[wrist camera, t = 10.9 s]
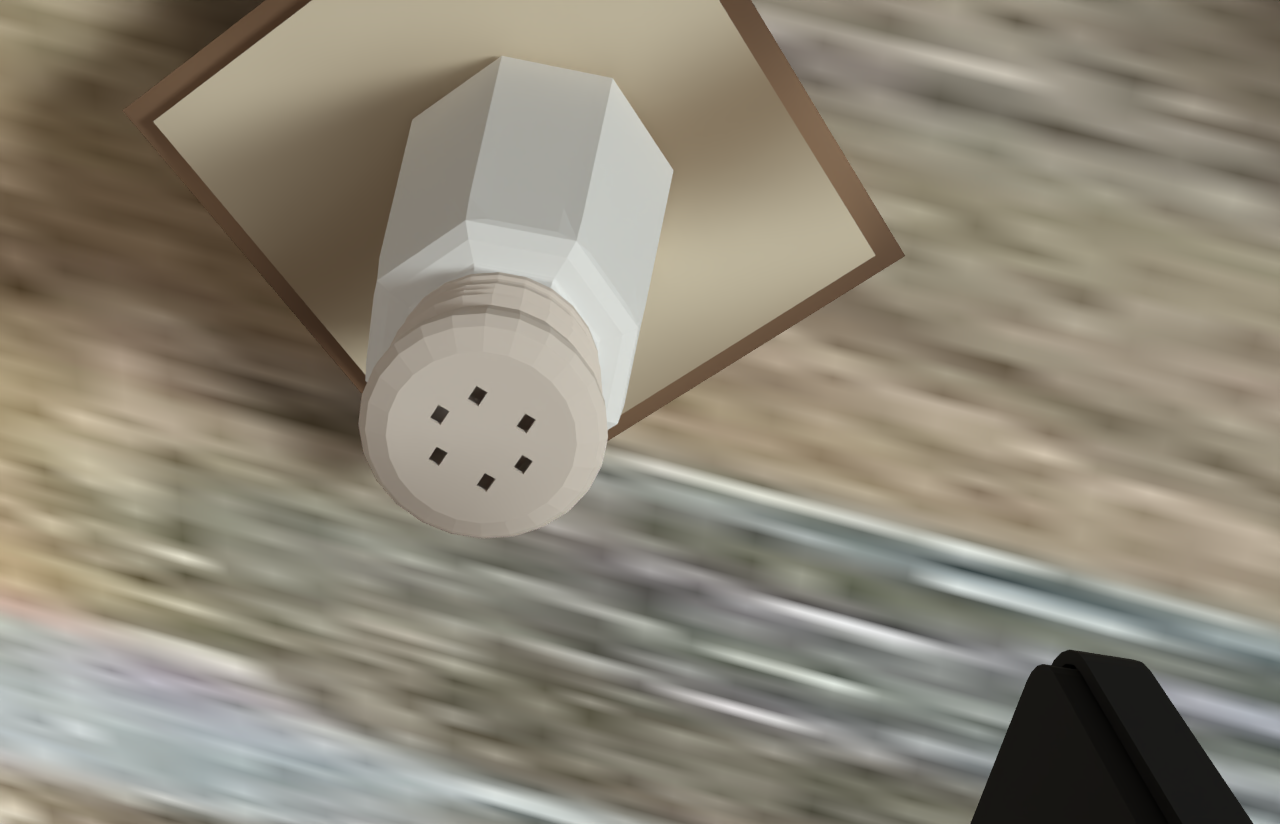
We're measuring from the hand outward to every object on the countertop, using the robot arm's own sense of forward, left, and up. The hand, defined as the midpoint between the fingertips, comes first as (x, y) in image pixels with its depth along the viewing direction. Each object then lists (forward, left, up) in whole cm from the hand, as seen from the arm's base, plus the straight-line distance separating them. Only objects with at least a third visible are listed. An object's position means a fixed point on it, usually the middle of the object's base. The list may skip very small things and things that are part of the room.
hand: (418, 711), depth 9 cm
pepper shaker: (0, 0, -16) cm, 16 cm away
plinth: (0, 0, -20) cm, 20 cm away
